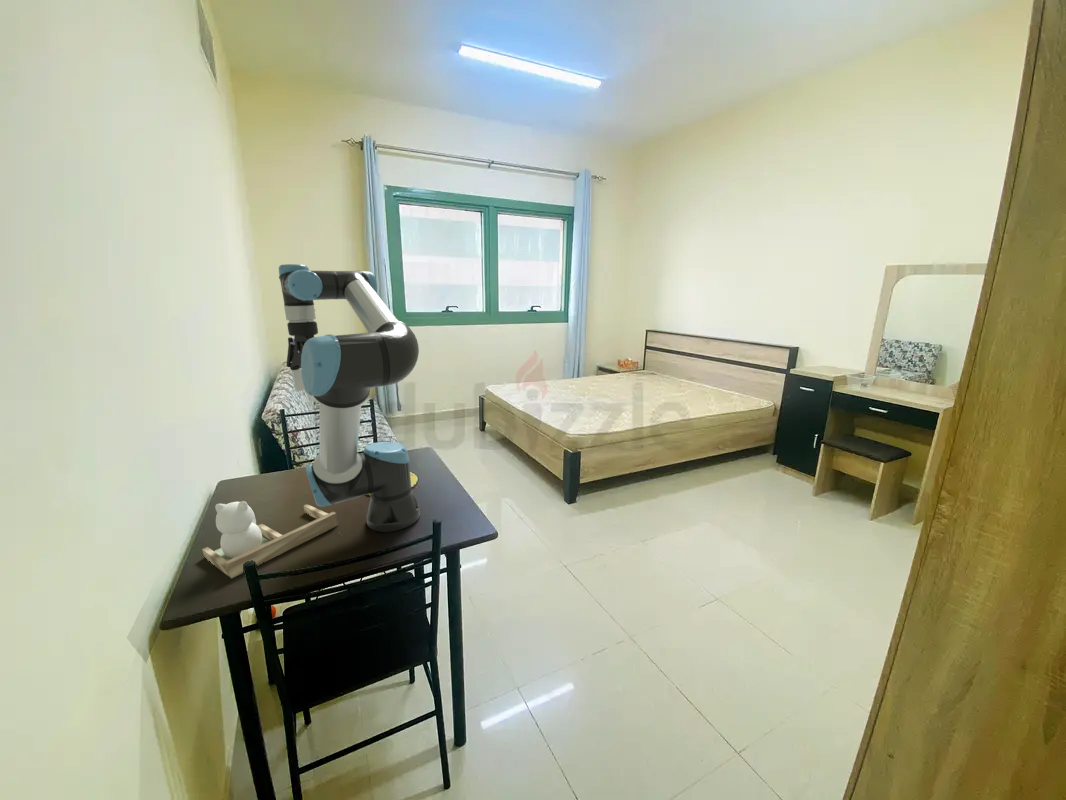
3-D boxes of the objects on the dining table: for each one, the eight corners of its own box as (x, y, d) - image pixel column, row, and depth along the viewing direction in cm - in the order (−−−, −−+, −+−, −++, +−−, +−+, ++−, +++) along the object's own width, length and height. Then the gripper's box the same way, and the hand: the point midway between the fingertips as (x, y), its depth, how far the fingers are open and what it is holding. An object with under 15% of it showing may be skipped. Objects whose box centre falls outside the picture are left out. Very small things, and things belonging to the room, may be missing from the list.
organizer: (337, 525, 123) (336, 513, 122) (231, 578, 101) (228, 564, 100) (307, 510, 132) (305, 499, 131) (202, 556, 109) (199, 543, 108)
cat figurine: (215, 566, 105) (201, 512, 101) (237, 538, 117) (226, 489, 113) (255, 561, 107) (243, 508, 103) (273, 533, 118) (263, 485, 114)
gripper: (339, 321, 117) (349, 395, 123) (291, 319, 131) (302, 386, 136) (313, 323, 111) (325, 401, 117) (266, 321, 124) (278, 390, 130)
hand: (312, 393), depth 126 cm, fingers open, 13 cm apart
